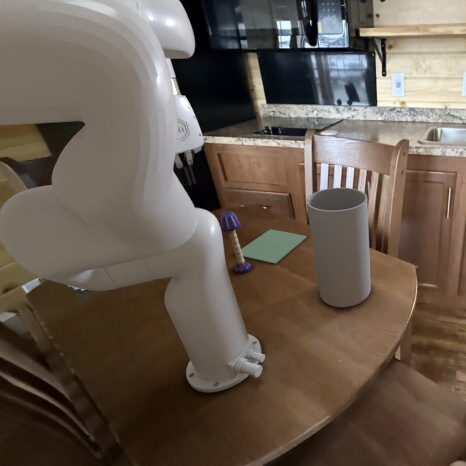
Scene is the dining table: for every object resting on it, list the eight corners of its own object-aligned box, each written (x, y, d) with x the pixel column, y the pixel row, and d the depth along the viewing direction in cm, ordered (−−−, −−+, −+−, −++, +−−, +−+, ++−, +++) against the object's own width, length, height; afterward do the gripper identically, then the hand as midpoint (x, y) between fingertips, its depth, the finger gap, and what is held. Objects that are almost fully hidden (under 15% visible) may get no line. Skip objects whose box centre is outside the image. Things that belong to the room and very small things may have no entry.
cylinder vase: (309, 299, 75) (293, 204, 63) (339, 271, 85) (330, 184, 73) (353, 315, 71) (345, 216, 58) (379, 284, 81) (377, 193, 68)
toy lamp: (229, 271, 85) (211, 215, 76) (242, 262, 88) (226, 208, 80) (243, 274, 83) (227, 218, 75) (256, 265, 87) (241, 211, 79)
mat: (306, 237, 101) (306, 236, 101) (274, 264, 88) (274, 263, 87) (270, 230, 105) (270, 229, 104) (234, 255, 91) (234, 253, 91)
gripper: (127, 94, 50) (167, 199, 59) (205, 87, 63) (228, 175, 72) (95, 92, 52) (139, 194, 61) (176, 85, 65) (202, 171, 74)
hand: (187, 184), depth 66 cm, fingers closed
